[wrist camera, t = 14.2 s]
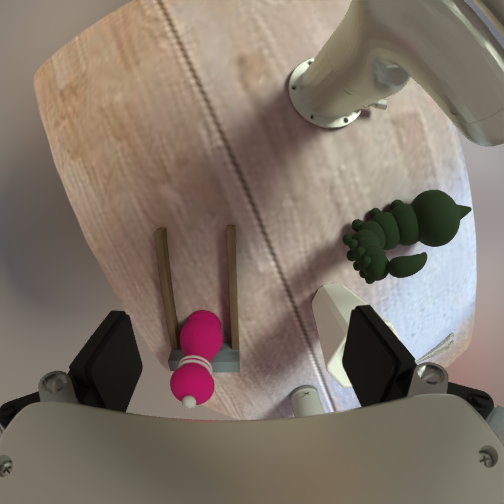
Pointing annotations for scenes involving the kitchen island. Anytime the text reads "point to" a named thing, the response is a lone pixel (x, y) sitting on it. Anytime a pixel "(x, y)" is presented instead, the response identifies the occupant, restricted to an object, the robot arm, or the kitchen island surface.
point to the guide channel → (229, 350)
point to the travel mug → (306, 401)
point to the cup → (336, 325)
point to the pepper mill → (197, 359)
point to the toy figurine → (403, 234)
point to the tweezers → (437, 347)
